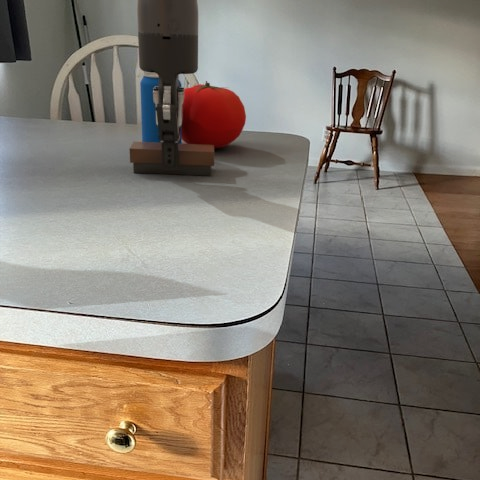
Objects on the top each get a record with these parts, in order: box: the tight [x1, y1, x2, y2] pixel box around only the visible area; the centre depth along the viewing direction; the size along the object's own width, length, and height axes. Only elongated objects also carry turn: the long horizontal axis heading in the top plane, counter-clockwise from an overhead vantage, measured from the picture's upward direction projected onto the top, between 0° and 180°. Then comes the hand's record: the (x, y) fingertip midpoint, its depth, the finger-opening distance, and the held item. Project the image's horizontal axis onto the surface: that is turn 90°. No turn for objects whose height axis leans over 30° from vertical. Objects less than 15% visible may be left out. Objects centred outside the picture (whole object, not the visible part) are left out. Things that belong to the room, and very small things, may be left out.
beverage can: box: [139, 72, 182, 144], centre depth 88 cm, size 6×6×12 cm
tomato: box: [181, 80, 247, 149], centre depth 94 cm, size 13×12×11 cm
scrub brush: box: [128, 141, 215, 177], centre depth 80 cm, size 12×5×4 cm, turn 93°
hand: (170, 169), depth 76 cm, fingers closed
